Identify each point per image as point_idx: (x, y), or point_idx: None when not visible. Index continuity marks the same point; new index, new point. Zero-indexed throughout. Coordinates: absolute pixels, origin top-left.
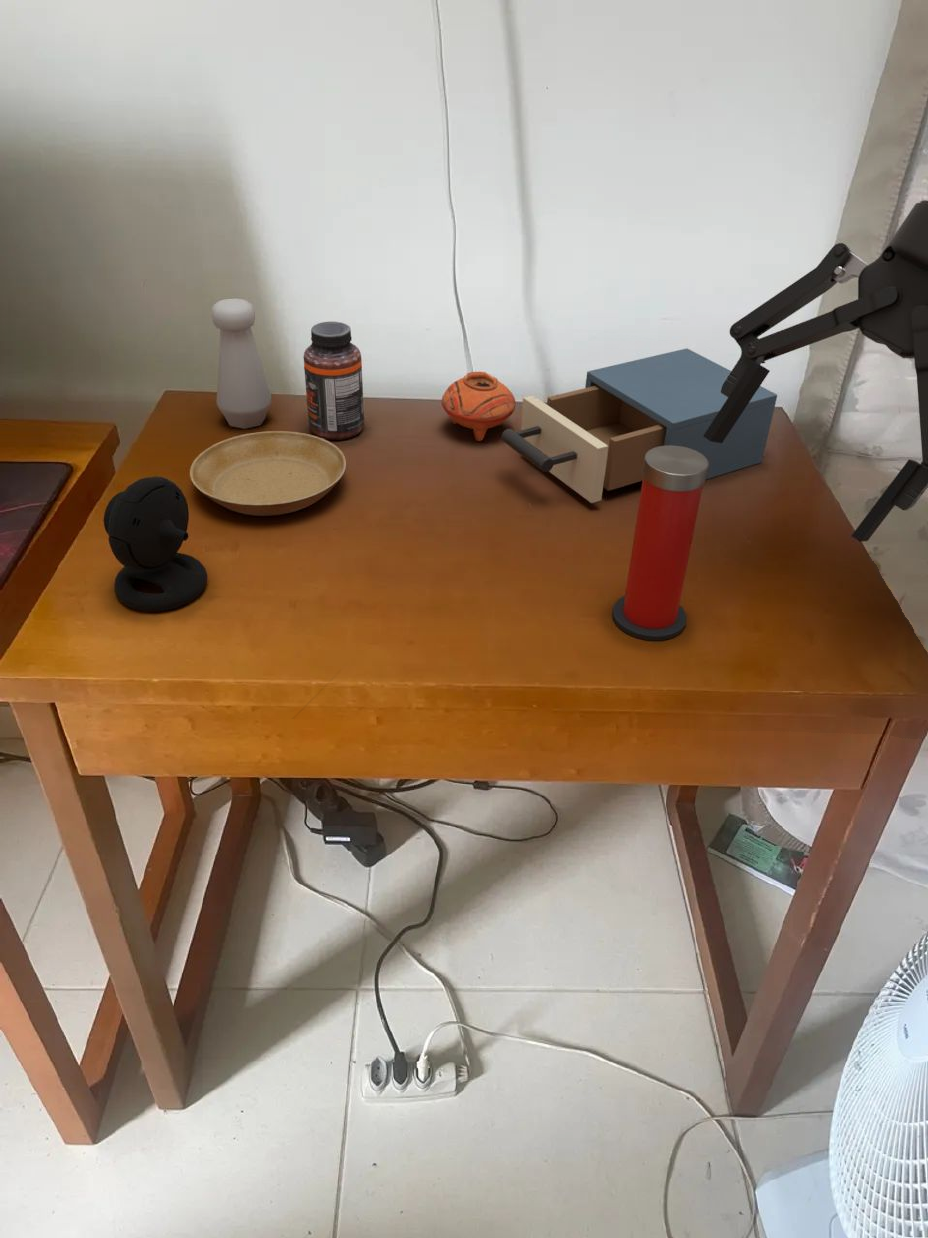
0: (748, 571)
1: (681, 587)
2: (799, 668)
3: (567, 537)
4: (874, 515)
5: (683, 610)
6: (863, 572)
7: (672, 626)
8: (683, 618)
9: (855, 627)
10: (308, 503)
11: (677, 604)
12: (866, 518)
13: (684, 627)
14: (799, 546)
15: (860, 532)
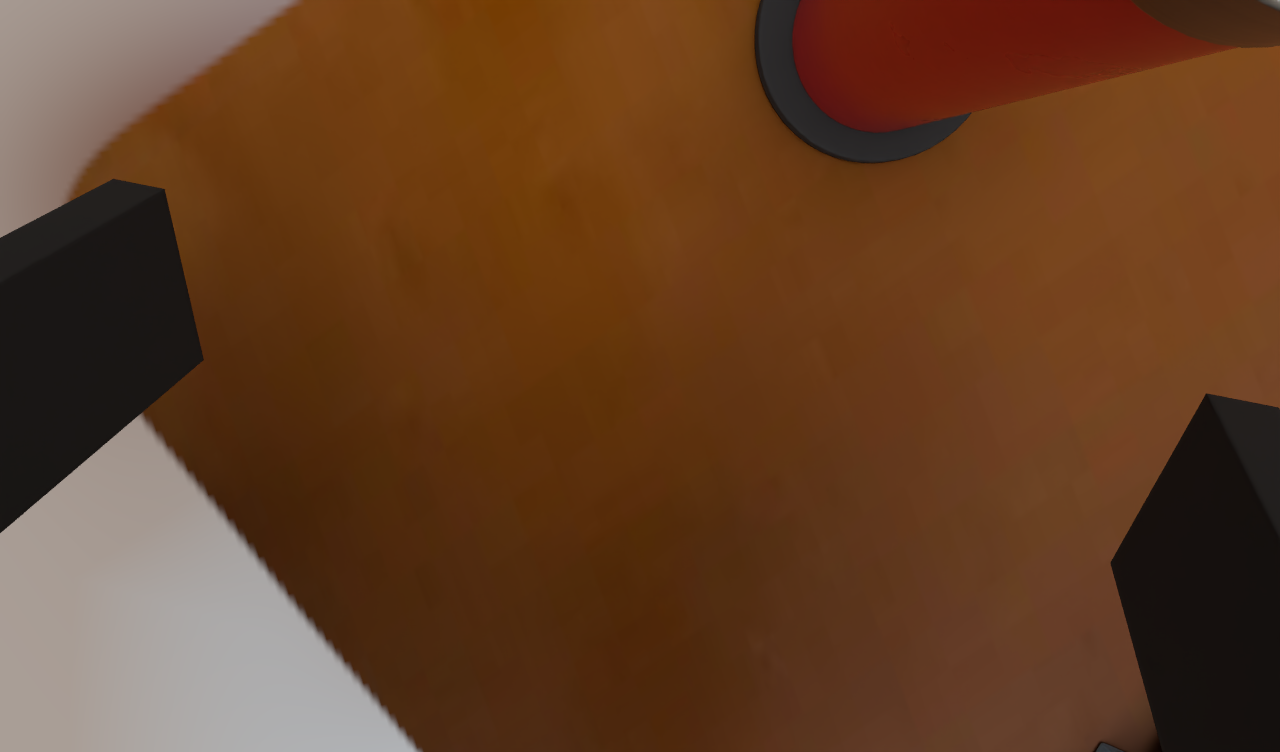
0: (697, 485)
1: (830, 7)
2: (372, 75)
3: (1277, 316)
4: (8, 253)
5: (792, 120)
6: (391, 694)
7: (789, 9)
8: (775, 76)
9: (306, 393)
10: None
11: (811, 13)
12: (64, 240)
13: (756, 50)
14: (610, 714)
15: (108, 201)
